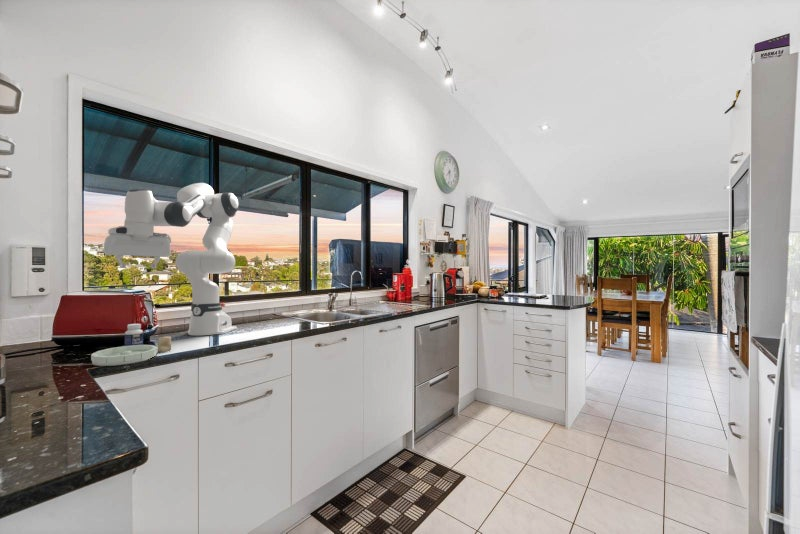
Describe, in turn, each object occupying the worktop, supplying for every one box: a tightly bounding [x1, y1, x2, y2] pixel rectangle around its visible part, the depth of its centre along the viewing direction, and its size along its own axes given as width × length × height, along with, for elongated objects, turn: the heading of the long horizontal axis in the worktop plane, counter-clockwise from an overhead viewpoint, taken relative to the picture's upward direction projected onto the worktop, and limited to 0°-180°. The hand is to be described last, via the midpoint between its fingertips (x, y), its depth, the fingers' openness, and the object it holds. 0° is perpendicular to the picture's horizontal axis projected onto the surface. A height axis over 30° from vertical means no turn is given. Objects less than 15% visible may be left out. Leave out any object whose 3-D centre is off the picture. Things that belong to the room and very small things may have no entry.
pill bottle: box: [124, 323, 144, 346], centre depth 128 cm, size 5×5×10 cm
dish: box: [90, 344, 158, 367], centre depth 117 cm, size 17×17×3 cm
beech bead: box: [157, 336, 172, 353], centre depth 127 cm, size 4×4×5 cm
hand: (138, 268), depth 130 cm, fingers open, 8 cm apart
